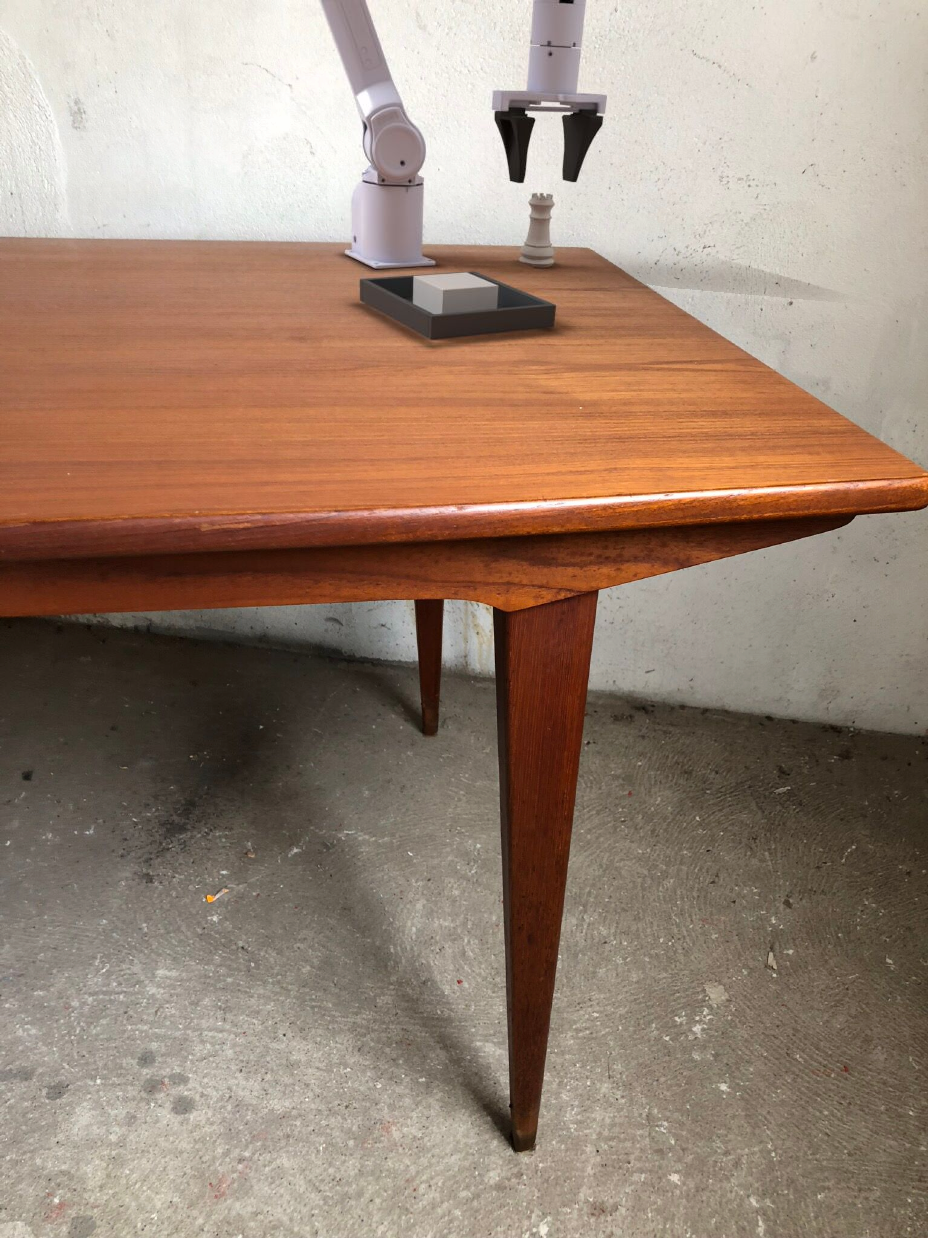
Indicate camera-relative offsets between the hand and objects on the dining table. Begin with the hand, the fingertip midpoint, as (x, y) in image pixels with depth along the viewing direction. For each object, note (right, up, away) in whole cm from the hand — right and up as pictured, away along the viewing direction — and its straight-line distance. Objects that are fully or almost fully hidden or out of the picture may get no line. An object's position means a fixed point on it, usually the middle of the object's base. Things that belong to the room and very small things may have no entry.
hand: (543, 181), depth 108 cm
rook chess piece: (-1, -8, +5) cm, 10 cm away
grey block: (-10, -22, -20) cm, 32 cm away
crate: (-11, -23, -20) cm, 32 cm away
